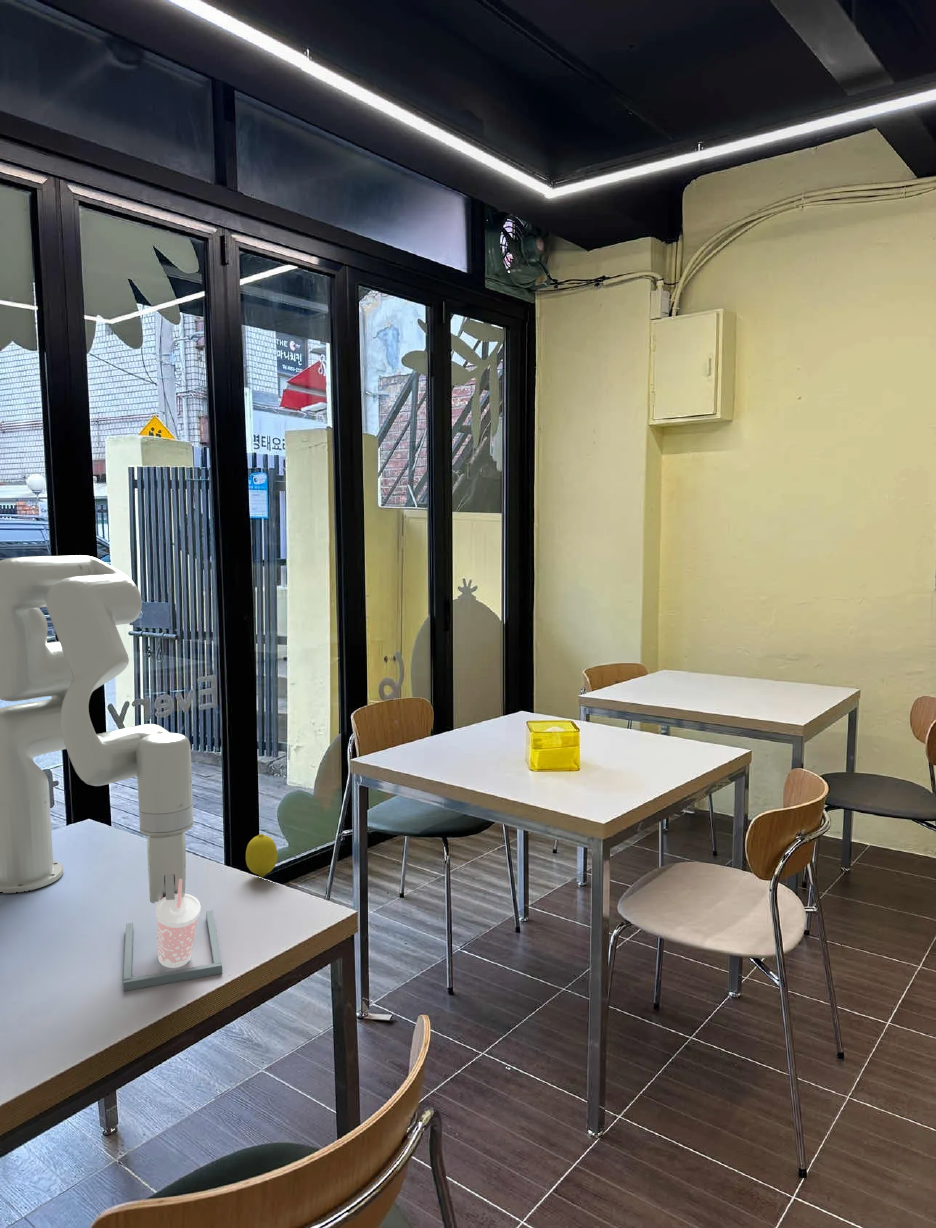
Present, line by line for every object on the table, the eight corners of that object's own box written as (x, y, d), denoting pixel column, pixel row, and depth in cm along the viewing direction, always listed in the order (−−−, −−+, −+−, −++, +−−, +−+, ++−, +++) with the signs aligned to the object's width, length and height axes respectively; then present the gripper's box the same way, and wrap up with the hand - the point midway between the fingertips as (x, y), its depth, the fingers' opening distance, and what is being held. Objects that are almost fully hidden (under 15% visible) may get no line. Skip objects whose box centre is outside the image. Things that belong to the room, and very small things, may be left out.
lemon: (265, 868, 159) (263, 826, 158) (284, 875, 156) (283, 833, 155) (240, 877, 155) (238, 834, 154) (259, 885, 151) (257, 842, 151)
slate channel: (126, 930, 135) (126, 923, 135) (212, 917, 139) (212, 910, 139) (123, 990, 118) (123, 982, 118) (222, 973, 122) (222, 965, 122)
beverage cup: (146, 947, 126) (151, 871, 121) (188, 935, 130) (194, 860, 124) (160, 977, 122) (165, 900, 116) (202, 963, 125) (209, 888, 120)
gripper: (139, 805, 133) (144, 919, 135) (139, 838, 119) (144, 965, 121) (190, 799, 135) (195, 911, 137) (196, 831, 122) (200, 955, 124)
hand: (171, 936), depth 129 cm, fingers closed
